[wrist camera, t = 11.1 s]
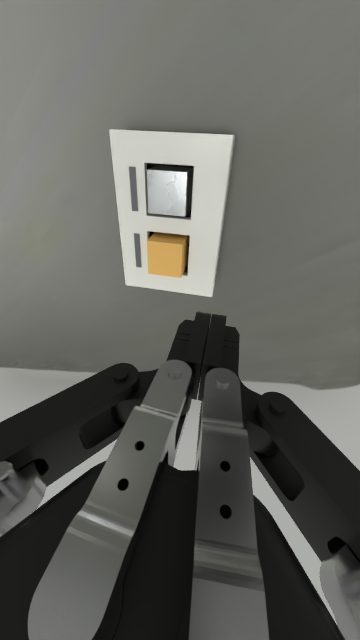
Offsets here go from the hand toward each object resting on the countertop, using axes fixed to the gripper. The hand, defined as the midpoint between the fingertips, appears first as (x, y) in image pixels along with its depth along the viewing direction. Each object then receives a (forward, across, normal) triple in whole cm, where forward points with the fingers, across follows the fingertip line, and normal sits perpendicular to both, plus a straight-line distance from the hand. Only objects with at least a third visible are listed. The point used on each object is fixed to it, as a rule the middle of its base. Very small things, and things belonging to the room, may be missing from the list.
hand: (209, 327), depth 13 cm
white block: (+27, +8, -2) cm, 28 cm away
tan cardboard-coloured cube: (+26, +8, +6) cm, 27 cm away
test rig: (+29, +8, +2) cm, 30 cm away
